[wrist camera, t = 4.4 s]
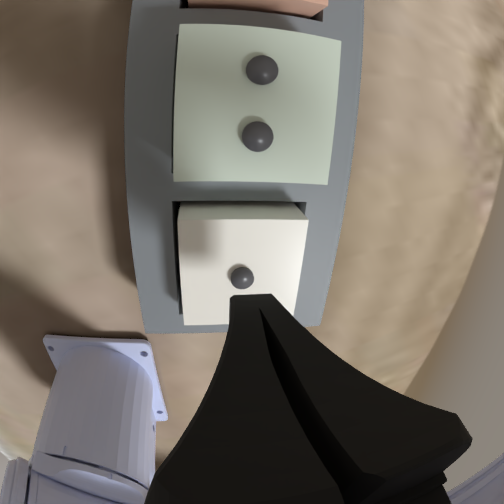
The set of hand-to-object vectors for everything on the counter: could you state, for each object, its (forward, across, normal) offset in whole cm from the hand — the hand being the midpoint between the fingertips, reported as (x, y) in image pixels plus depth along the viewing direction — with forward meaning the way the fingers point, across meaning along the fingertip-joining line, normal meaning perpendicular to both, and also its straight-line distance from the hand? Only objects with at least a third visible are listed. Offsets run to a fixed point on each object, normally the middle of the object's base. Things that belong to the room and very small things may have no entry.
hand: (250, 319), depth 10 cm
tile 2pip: (+5, 0, -7) cm, 8 cm away
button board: (+7, 0, -7) cm, 9 cm away
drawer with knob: (+6, 0, 0) cm, 6 cm away
